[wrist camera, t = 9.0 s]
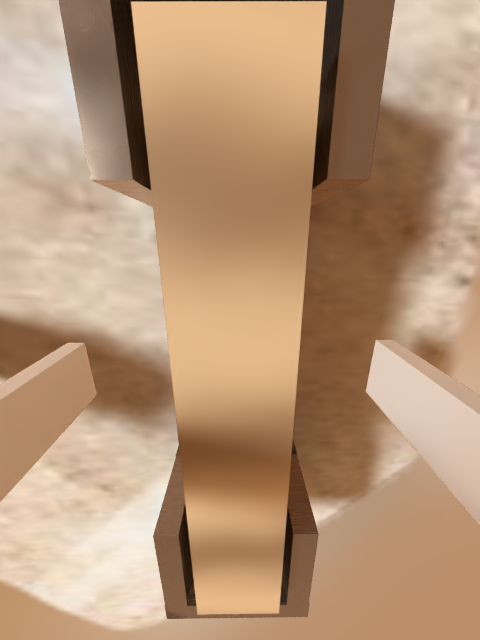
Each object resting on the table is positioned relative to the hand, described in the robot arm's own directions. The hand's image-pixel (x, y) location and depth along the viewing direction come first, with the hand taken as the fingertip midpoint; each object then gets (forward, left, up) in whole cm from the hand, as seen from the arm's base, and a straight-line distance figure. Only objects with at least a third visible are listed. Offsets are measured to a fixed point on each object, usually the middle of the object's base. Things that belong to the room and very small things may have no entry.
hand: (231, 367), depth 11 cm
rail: (+1, 0, -2) cm, 3 cm away
